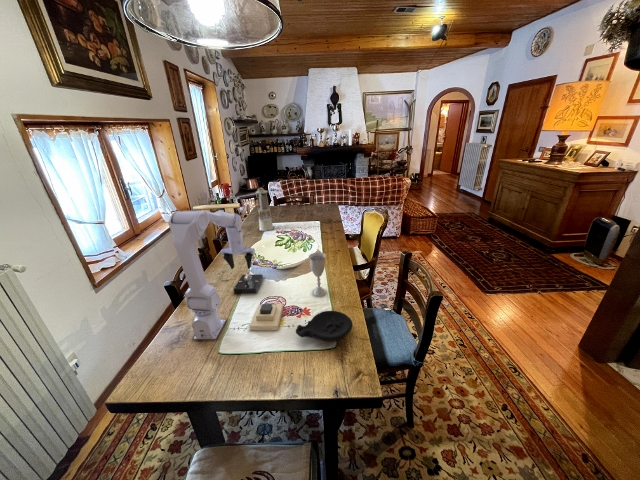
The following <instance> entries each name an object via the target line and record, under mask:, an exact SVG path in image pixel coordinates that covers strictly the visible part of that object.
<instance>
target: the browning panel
mask: <svg viewBox="0 0 640 480" xmlns="http://www.w3.org/2000/svg"><path fill="white" fill-rule="evenodd" d="M245 276H246V274H241V276H240V277H239V279H238V281H237V283H236V284H235V286H234V287H233V294H234V295H248V294H249V295H251V294H253V295H255V294H257V293H258V291H259V289H260V287H261V284H262V282H263V280H264V275H263V274H261V273H260V274H251V280H250V282H249V284H245V280H244V277H245Z"/></svg>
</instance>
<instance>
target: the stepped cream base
mask: <svg viewBox="0 0 640 480" xmlns="http://www.w3.org/2000/svg"><path fill="white" fill-rule="evenodd" d="M271 304H272V303H271ZM261 306H262V304H258V305H257V306H256V309H255V311H254V315H253V317H252V319H251V320H250V321H251V322H250V324H249V330H250V331H278V330H279V326H280V323H281V318H282V315H283V311H284V304H282V303H281V304H280V303H279V304H274V303H273V304H272V310H271V313H270V314H261V313H260V309H261Z"/></svg>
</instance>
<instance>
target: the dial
mask: <svg viewBox="0 0 640 480" xmlns="http://www.w3.org/2000/svg"><path fill="white" fill-rule="evenodd" d="M245 275H246V276H245V277H244V280H245V284H249V282H250V280H251V275H252V273H251V271H247V272H246V274H245Z"/></svg>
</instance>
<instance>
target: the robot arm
mask: <svg viewBox="0 0 640 480" xmlns="http://www.w3.org/2000/svg"><path fill="white" fill-rule="evenodd" d="M169 217H170V218H169V219H168V222H167V223H168V226H169V227H168V228H169V230H170V232H171V235H172V237H173V238H172V239H173V240H172V241H173V245H174V248H175V251H176V255H177V256H178V259H179V262H180V265H181V267H182V270H183V273H184V276H185V279H186V281H187V284H188V287H189V288H188V289H187V290H186V291H185V293H184V296H185V305H186V308H187V309H189V310H191V311H192V313H194V319H193V321H192V323H191V328H192V331H193V333H194V337H193V339H194V340H216V339H217V337H218V336H219V333H220V332H221V331H222V328H223V327H224V325H225V323H226V319H221V318H220V314H219V310H218V308H219V306H220V304H221V296H220V294H219V293H218V291H217V289H216V288H215V287H214V286H213V285H211V284H209V283H208V281H207V277H206V274H205V272H204V269H203V265H202V262H201V259H200V255H199V253H198V250H197V247H196V242H197V241H199V240H200V239H201V238H202V236H203V235H204V233H205V231H206V229H207V228H208V225H210V223H213V225H215V226H217V227H223V228H225V230H226V231H225V232H226V235H227V240H228V245H229V248H222V249H221V250H220V254H221V256H222V258H223V260H224V261H226V262H227V264H228V265H229V267H230V269H231V270H234V268H235V262H234V261H235V260H234V255H242V254H243V255H244V259H245V261H246V262H245V263H246V265H247V266H246V267H247V269H248V270H250V269H251V268H252V258H253V255H254V254H255V253H256V250H255V249H256V248H254V247H246V246H244V245H245V244H244V239H243V234H242V217H241V216H240V215H239V214H238V213H231V211H225V209H219V210H217V211H215V212H211V211H207V210H182V211H181V210H175V211H173V212H172V213H171V215H170V216H169Z"/></svg>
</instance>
